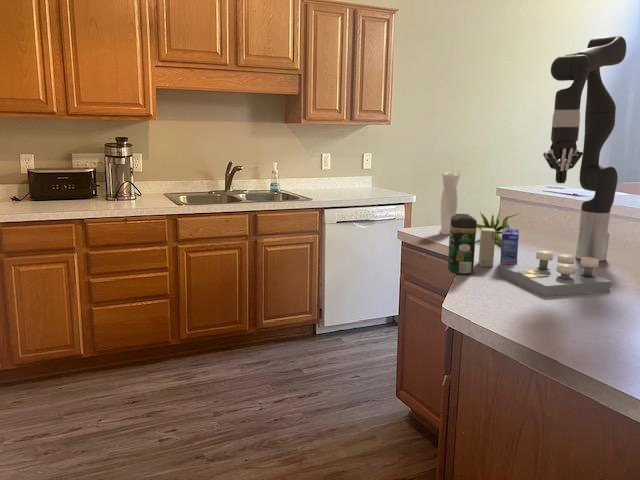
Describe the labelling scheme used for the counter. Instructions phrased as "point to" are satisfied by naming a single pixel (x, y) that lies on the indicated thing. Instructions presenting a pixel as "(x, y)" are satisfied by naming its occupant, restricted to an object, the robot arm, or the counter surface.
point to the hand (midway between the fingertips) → (560, 183)
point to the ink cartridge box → (509, 246)
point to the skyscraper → (448, 200)
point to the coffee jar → (462, 244)
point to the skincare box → (487, 247)
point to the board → (554, 280)
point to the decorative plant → (494, 225)
